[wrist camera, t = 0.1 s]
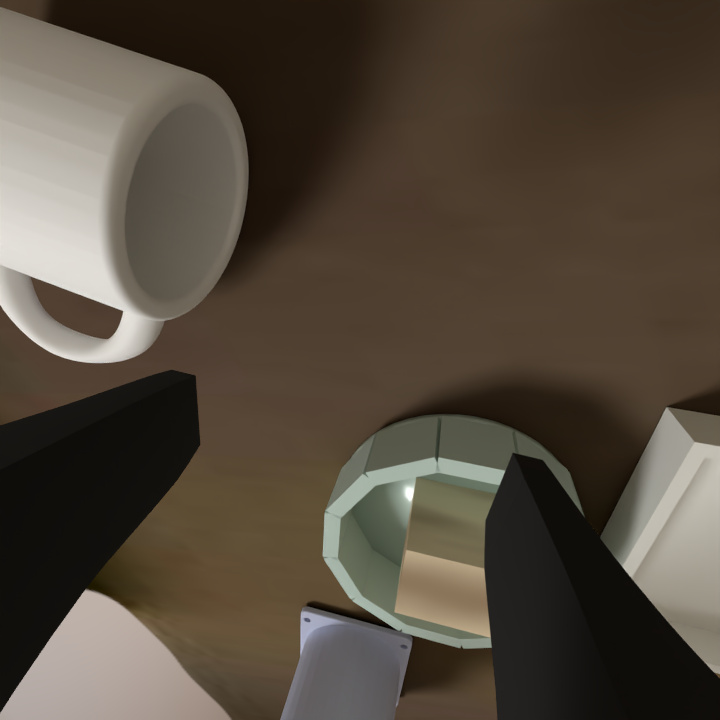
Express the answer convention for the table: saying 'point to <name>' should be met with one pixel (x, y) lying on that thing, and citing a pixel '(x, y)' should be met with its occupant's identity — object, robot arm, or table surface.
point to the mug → (111, 185)
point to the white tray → (676, 527)
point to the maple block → (445, 557)
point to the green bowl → (394, 497)
